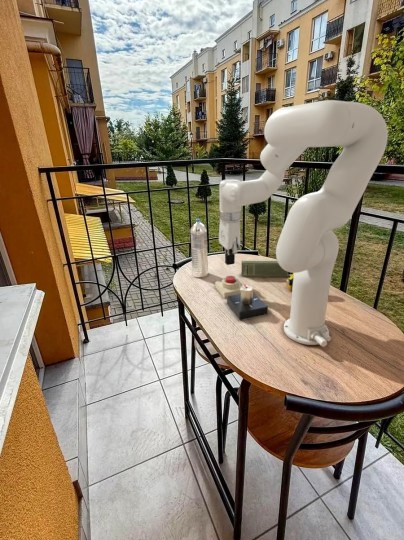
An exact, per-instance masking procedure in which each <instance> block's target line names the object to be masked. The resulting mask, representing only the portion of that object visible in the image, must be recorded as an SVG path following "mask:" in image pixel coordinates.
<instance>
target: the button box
mask: <svg viewBox="0 0 404 540" xmlns="http://www.w3.org/2000/svg"><path fill="white" fill-rule="evenodd" d="M214 286H215V288H216V289H217V291H218V292H219V293H220V295H221V296H222V297H223V299H227V296H231V295H237V294H241V287H242V286H244V284H242V282H241V281H240V280H239V279H238V278H236V277H235V283H226V277H224V278H223V279H222V280H217V281H216V280H215V285H214Z"/></svg>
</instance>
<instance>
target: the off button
mask: <svg viewBox="0 0 404 540" xmlns="http://www.w3.org/2000/svg"><path fill="white" fill-rule="evenodd" d="M225 278H226V283H235V278H236V276H235V275H227V276H226V277H225Z"/></svg>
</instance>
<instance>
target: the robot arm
mask: <svg viewBox="0 0 404 540" xmlns="http://www.w3.org/2000/svg"><path fill="white" fill-rule="evenodd" d="M263 130H264V131H263V133H264V139H265V141H266V143H267V144H266V145H265V146H264V148H263V149H262V150H261V152H260V155H259V159H260V164H261V165H262V166H263V167H264V169H265V171H264V172H263V173H262V174H261V175H260V177H258V178H257V179H250V180H243V181H241V180H239V179H232V178H231V179H230V178H229V179H228V178H227V179H223V180H221V181H220V182H219V188H218V189H219V191H218V194H219V227H218V229H219V230H218V232H219V233H218V242H219V244H220V245H221V246H222V247H223V248H224V263H225V264H226V266H229V265H234V264H235V262H236V261H235V259H236V258H235V257H236V254H238V249H240V247H241V223H240V222H241V220H242V207H243V206H244V207H245V206H249V205H254V204H258V203H263V202H265V201H266V200H268V199H270V198H271V197H272V196H273V195H274V193H275V192H276V191H278V190H279V188H280V187H281V186H282V184H283V181H284V179H285V172H286V171H287V170H288V169H289V168H290V167H291V166H292V165H293V163H294V162H295V161H296V160H297V159H298V158H299V157H300V156H301V155H302V154H303V153H304V152H305V151H306V150H307V149H308V148H331V147H342V151H341V153H340V154H339V155H338V157H337V158H336V159H335V161H334V162H333V163H332V165H331V166H330V169H329V171H328V172H327V175H326V178H325V180H324V182H323V184H322V186H321V188H320V189H319V190H318V191H314V192H310V193H307V194H304V195H302V196H300V197H299V198H298V199H297V200H295V202H294V203H293V204H292V206H291V207H290V209H289V212H288V214H287V216H286V218H285V219H286V220H285V222H284V224H283V227H282V230H281V232H280V235H279V238H278V240H277V243H276V248H275V257H276V261H278V263H279V265H280V266H281V268H282V269H284V270H285V271H287V272H291V273H294V278H293V288H292V291H291V301H290V313H289V318H288V319H287V320H285V321H284V324H283V331H284V333H285V335H286V336H287V337H288V338H289V339H291V340H292V341H294V342H296V343H299V344H301V345H302V344H303V345H308V346H316V345H319V346H320V347H322V348H324V347H326V346H327V345H328V342H330V341H331V340H332V337H331V336H330V331H329V328H328V326H327V325H326V324H325V322H326V315H327V310H328V303H329V293H330V288H331V282H332V275H333V271H334V267H335V264H336V261H337V258H338V256H339V255H338V254H339V250H340V243H339V239H338V236H337V235H336V234H335V233H334V232H333V231H334V230H337V229H339V228H341V227H344V226H345V225H346V224H347V223H348V222H349V221H350V219H351V218H352V216H353V214H354V212H355V211H356V208H357V206H358V204H359V202H360V200H361V198H362V197H363V194H364V192H365V191H366V189H367V187H368V184H369V182H370V180H371V178H372V177H373V174H374V173H375V171H376V170H377V167H378V165H379V163H380V162H381V160H382V158H383V156H384V154H385V151H386V148H387V144H388V136H389V133H388V126H387V123H386V120H385V119H384V117H383V115H382V114H381V113H380V112H379V111H378V110H377V109H376V108H374V107H373V106H370V105H368V104H365V103H363V102H356V101H345V100H334V99H333V100H332V99H328V100H319V101H314V102H308V103H302V104H298V105H291V106H285V107H280V108H279V109H277V110H275V111H273V113H272V114H271V115H270V116H269V117H268V119H267V121H266V122H265V125H264V129H263Z"/></svg>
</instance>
